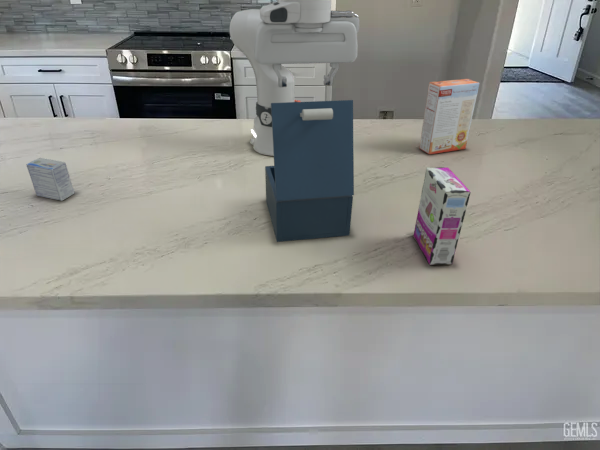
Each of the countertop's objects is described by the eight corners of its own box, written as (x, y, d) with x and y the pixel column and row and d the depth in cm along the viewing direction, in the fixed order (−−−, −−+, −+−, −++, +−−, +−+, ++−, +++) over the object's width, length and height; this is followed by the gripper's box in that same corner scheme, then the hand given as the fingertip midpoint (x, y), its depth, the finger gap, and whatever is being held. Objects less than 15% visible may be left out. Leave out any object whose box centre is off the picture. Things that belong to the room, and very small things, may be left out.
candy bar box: (453, 265, 87) (472, 191, 79) (429, 266, 87) (445, 192, 78) (434, 234, 97) (449, 165, 88) (412, 235, 96) (425, 166, 88)
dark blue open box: (266, 201, 108) (265, 166, 103) (329, 197, 111) (331, 162, 106) (276, 242, 93) (276, 202, 88) (349, 235, 96) (353, 196, 91)
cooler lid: (270, 103, 84) (274, 102, 79) (351, 100, 86) (360, 99, 81) (276, 200, 88) (279, 205, 83) (352, 194, 91) (360, 199, 86)
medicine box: (75, 193, 110) (66, 161, 105) (61, 201, 106) (51, 168, 102) (50, 188, 112) (40, 156, 107) (36, 196, 108) (25, 163, 104)
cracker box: (454, 143, 144) (467, 77, 133) (466, 149, 140) (481, 82, 129) (417, 148, 140) (428, 80, 129) (428, 155, 135) (441, 85, 124)
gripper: (355, 8, 87) (350, 80, 94) (251, 8, 83) (254, 83, 91) (365, 12, 82) (359, 88, 89) (255, 12, 78) (257, 91, 85)
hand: (305, 85), depth 90 cm, fingers open, 8 cm apart
